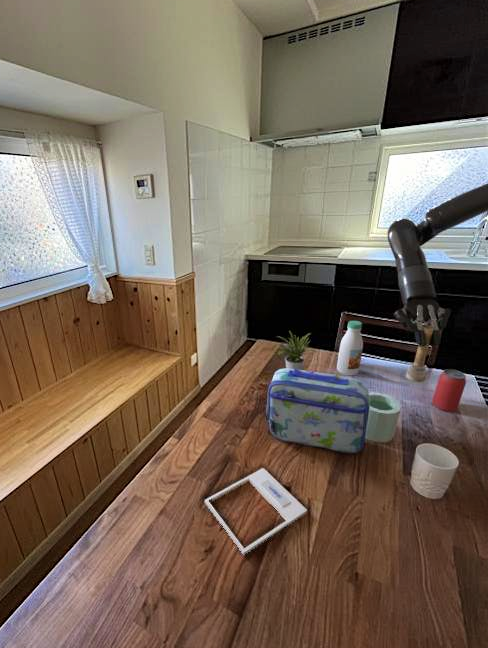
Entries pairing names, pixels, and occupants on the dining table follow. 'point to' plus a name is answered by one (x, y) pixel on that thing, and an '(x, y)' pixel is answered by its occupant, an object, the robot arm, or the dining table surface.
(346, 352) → the milk bottle
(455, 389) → the beer can
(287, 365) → the house plant
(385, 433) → the jar
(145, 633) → the dining table surface
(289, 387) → the lunch box
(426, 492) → the white cup
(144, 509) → the dining table surface
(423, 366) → the brush
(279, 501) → the photo frame
